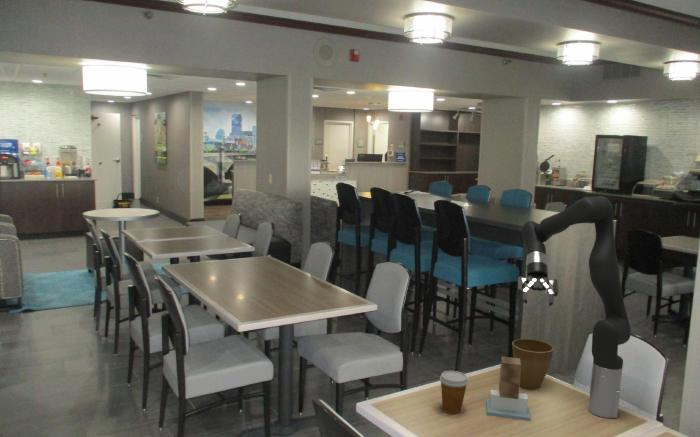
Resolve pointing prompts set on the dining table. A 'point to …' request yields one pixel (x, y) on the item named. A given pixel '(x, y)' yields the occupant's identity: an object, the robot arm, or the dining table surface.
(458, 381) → the disposable coffee cup
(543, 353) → the plant pot
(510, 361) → the post
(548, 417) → the dining table surface
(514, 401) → the butter dish
